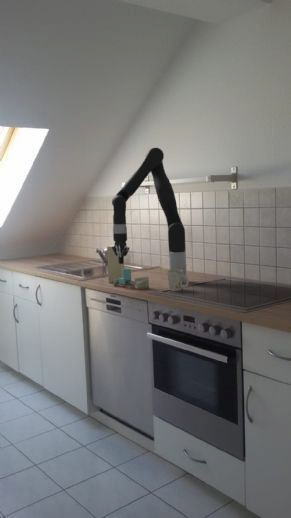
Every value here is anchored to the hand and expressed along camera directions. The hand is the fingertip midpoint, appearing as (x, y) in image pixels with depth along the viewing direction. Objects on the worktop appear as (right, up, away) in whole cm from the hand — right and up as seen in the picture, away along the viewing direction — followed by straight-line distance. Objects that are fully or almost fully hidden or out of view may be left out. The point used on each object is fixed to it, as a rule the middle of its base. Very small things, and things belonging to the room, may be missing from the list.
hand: (121, 263), depth 281 cm
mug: (+31, -14, -20) cm, 39 cm away
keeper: (+2, -11, 0) cm, 11 cm away
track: (+6, -13, -4) cm, 14 cm away
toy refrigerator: (-3, -11, +15) cm, 19 cm away
